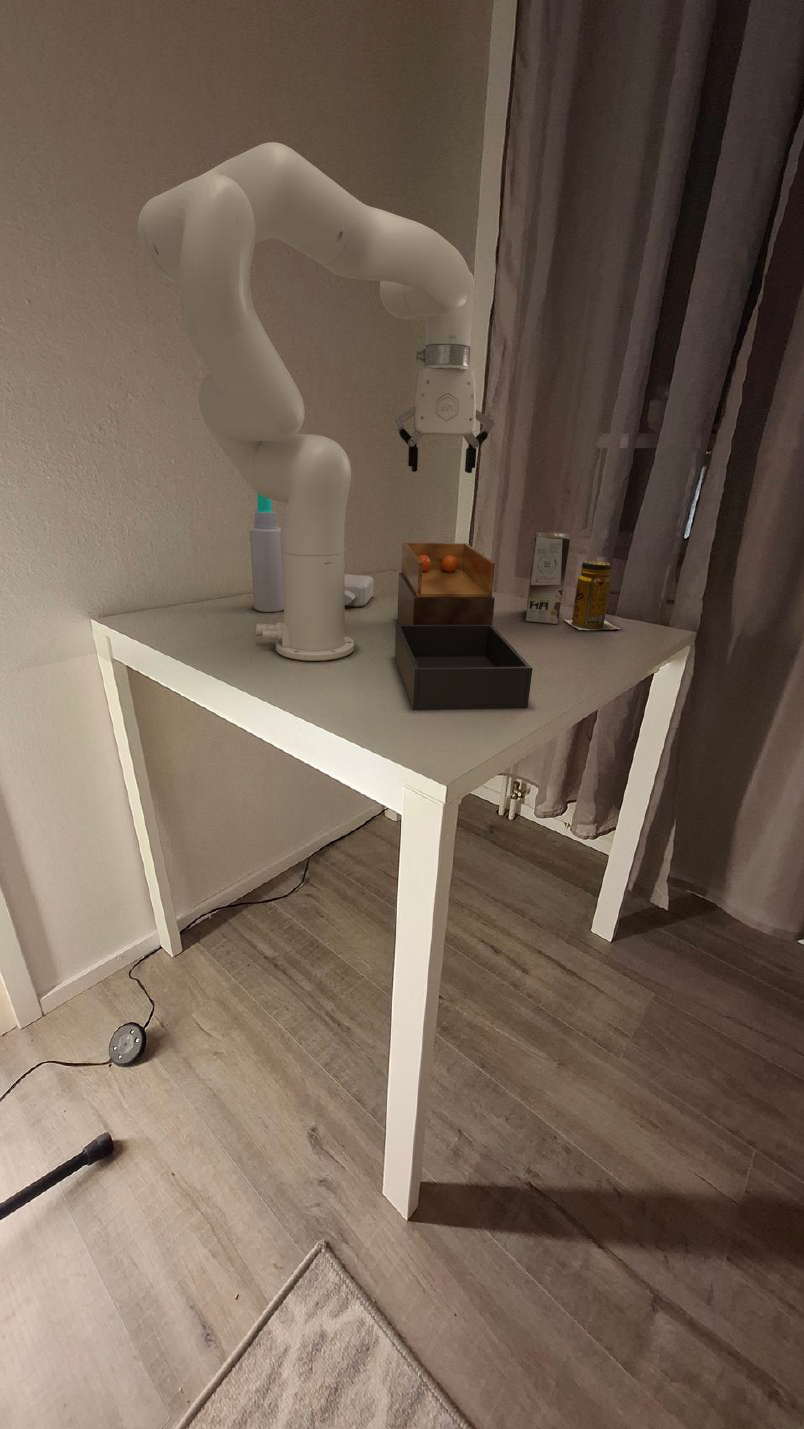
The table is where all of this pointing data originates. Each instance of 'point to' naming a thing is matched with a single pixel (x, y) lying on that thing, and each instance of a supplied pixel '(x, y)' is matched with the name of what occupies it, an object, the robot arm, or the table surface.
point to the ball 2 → (449, 563)
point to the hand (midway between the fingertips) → (441, 471)
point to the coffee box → (547, 577)
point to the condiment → (592, 597)
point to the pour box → (436, 582)
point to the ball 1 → (425, 562)
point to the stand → (441, 608)
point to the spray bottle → (266, 559)
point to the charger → (358, 590)
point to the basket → (460, 667)
